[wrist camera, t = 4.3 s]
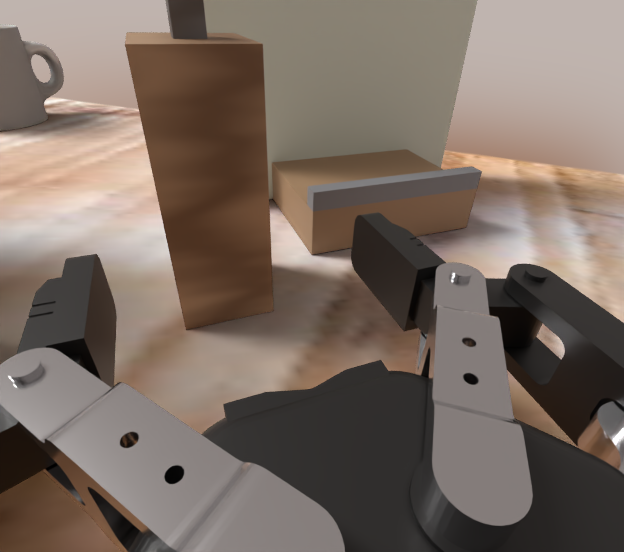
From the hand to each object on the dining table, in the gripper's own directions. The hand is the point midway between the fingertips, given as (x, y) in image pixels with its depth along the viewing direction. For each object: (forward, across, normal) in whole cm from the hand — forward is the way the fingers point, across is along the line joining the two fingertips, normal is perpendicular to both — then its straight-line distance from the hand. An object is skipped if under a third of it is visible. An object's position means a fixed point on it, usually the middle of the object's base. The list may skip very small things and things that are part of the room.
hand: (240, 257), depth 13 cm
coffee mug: (+51, +18, +7) cm, 55 cm away
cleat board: (+14, -12, +6) cm, 20 cm away
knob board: (+7, 0, +6) cm, 10 cm away
